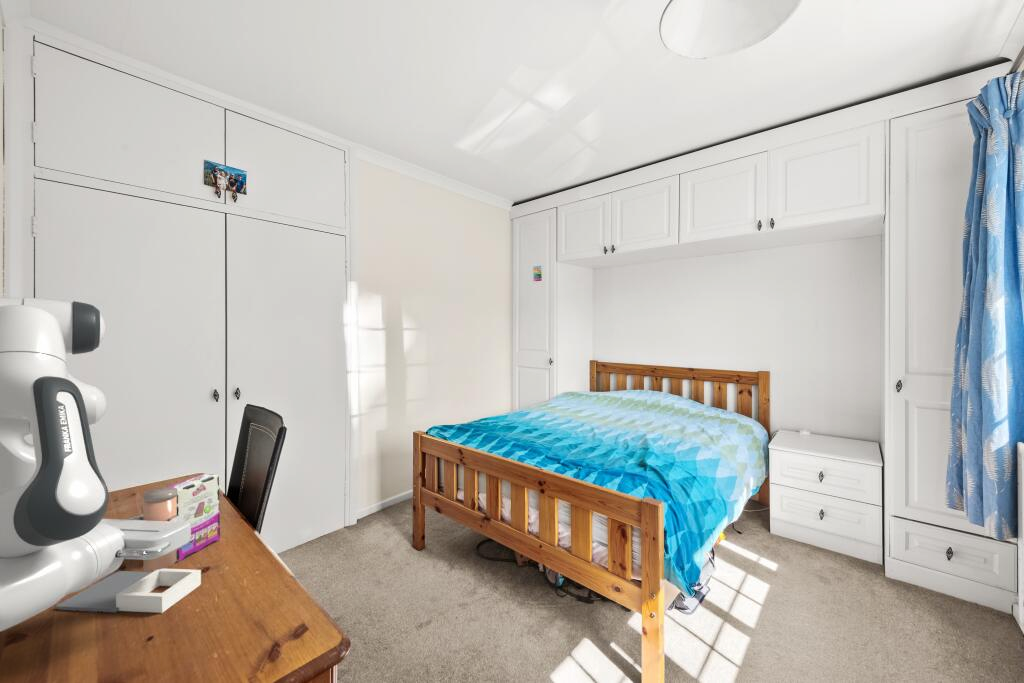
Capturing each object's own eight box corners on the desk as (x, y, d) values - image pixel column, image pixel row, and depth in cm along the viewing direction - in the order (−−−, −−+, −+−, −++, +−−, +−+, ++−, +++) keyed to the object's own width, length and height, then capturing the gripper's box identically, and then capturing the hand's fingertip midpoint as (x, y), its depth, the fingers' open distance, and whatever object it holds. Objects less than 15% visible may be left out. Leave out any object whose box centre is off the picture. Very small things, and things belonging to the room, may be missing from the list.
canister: (135, 570, 81) (135, 496, 81) (159, 556, 86) (159, 487, 86) (161, 571, 80) (161, 497, 80) (184, 557, 86) (184, 487, 85)
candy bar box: (204, 537, 108) (204, 473, 107) (220, 539, 107) (220, 474, 106) (159, 560, 97) (159, 488, 96) (177, 562, 96) (177, 490, 95)
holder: (116, 610, 79) (116, 594, 79) (159, 582, 88) (159, 568, 88) (162, 612, 78) (162, 596, 78) (200, 584, 87) (200, 569, 87)
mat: (55, 609, 79) (55, 606, 79) (118, 573, 91) (118, 570, 91) (115, 612, 78) (116, 609, 78) (171, 575, 90) (171, 573, 90)
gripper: (150, 537, 69) (214, 504, 83) (33, 532, 71) (116, 500, 84) (150, 575, 70) (214, 536, 83) (34, 570, 71) (116, 532, 85)
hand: (164, 518), depth 84 cm, fingers closed on canister, 5 cm apart
